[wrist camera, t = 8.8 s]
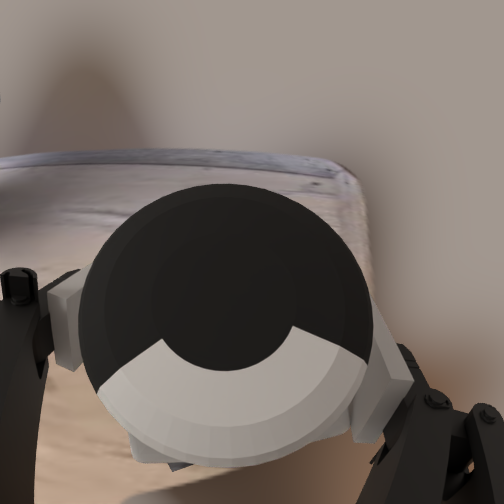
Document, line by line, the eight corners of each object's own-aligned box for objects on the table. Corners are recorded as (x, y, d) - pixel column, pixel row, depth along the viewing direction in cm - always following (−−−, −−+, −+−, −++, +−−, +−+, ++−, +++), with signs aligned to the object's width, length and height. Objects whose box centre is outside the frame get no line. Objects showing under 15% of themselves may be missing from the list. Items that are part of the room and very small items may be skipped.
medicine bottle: (154, 314, 17) (60, 169, 6) (280, 298, 18) (350, 139, 7) (169, 442, 14) (55, 502, 3) (305, 422, 15) (447, 440, 4)
